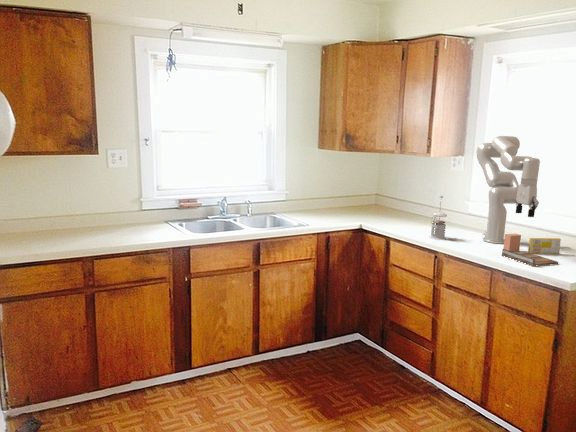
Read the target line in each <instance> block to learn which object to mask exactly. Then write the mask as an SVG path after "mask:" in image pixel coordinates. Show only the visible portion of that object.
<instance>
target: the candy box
mask: <svg viewBox="0 0 576 432" xmlns="http://www.w3.org/2000/svg"><path fill="white" fill-rule="evenodd" d="M561 242H562V239H561V238H557V237H556V238H555V237H529V238H528V246H527V247H528V250H527V252H528V253H534V254H535V255H537V254H540V255H543V254H544V255H545V254H546V255H560V252H561V251H560V249H561Z"/></svg>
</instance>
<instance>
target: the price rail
mask: <svg viewBox="0 0 576 432" xmlns="http://www.w3.org/2000/svg"><path fill="white" fill-rule="evenodd" d="M502 254H505V255H508V256H511V257H514V258H517V259H520V260H523V261H526V262H529V263H532V264H535V259H534V258H531V257H527V256H524V255H521V254H518V253H516V252H512V251H509V250H506V249H503V248H502V253H501V255H502Z"/></svg>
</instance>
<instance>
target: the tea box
mask: <svg viewBox="0 0 576 432" xmlns="http://www.w3.org/2000/svg"><path fill="white" fill-rule="evenodd" d="M521 239H522V235H521V234H518V233H504V243H503V248H502V250H503V249H506V250H509V251H512V252H515V253H516V252H520V248H521Z"/></svg>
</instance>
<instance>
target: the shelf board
mask: <svg viewBox="0 0 576 432" xmlns="http://www.w3.org/2000/svg"><path fill="white" fill-rule="evenodd" d="M515 253H518V254H521V255H524V256H527V257H531V258H534V259H535V264H532V263H529V262H526V261H523V260H520V259H517V258H514V257H511V256H508V255H505V254H502V253H501V257H504V256H505V257H504V258H506V257H508V258H507V259H509V258H511V259H510V260H512V259H514V260H513V261H515V260H517V261H516V262H518V261H520V262H519V263H521V262H523V263H522V264H524V263H526V264H525V265H527V264H529V265H528V266H530V265H532V266H531V267H537V266H536V265H544V266H551V265H550V264H556V265H559V261H557V260H553V259H550V258H548V257H544V256H542V255H537V254H532V253H528V251H519V252H515Z"/></svg>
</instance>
